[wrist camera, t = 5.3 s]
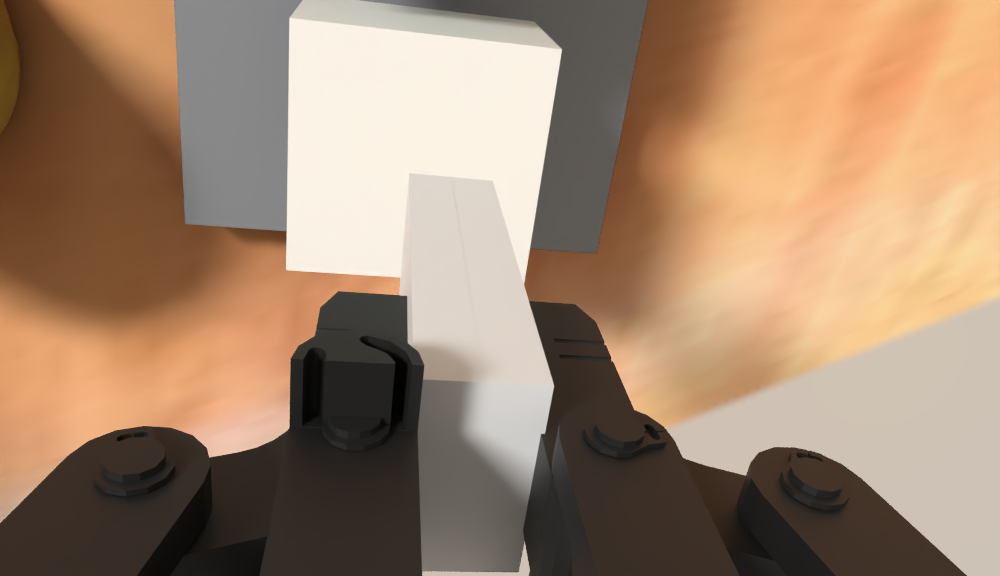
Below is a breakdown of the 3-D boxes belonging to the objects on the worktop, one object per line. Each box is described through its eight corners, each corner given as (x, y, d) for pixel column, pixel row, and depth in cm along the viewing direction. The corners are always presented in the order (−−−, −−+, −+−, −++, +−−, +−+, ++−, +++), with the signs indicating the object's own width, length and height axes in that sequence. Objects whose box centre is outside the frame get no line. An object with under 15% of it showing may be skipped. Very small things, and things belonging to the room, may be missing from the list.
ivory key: (302, 210, 23) (286, 269, 20) (307, -7, 20) (289, 17, 17) (504, 225, 24) (523, 285, 21) (534, 21, 21) (561, 49, 18)
